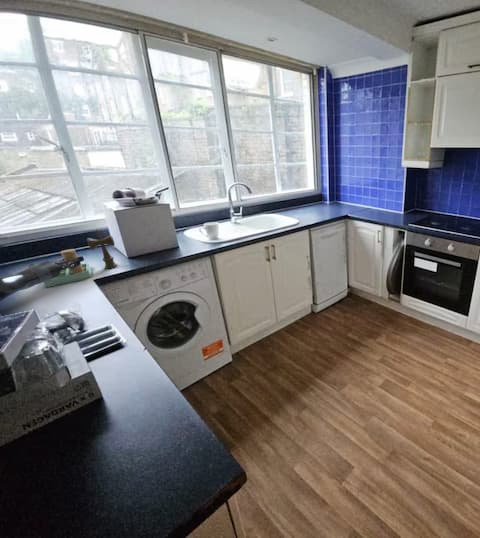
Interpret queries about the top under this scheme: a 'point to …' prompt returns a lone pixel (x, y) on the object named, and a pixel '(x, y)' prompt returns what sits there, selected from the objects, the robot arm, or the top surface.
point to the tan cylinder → (71, 255)
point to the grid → (69, 276)
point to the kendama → (103, 249)
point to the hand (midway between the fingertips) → (77, 258)
